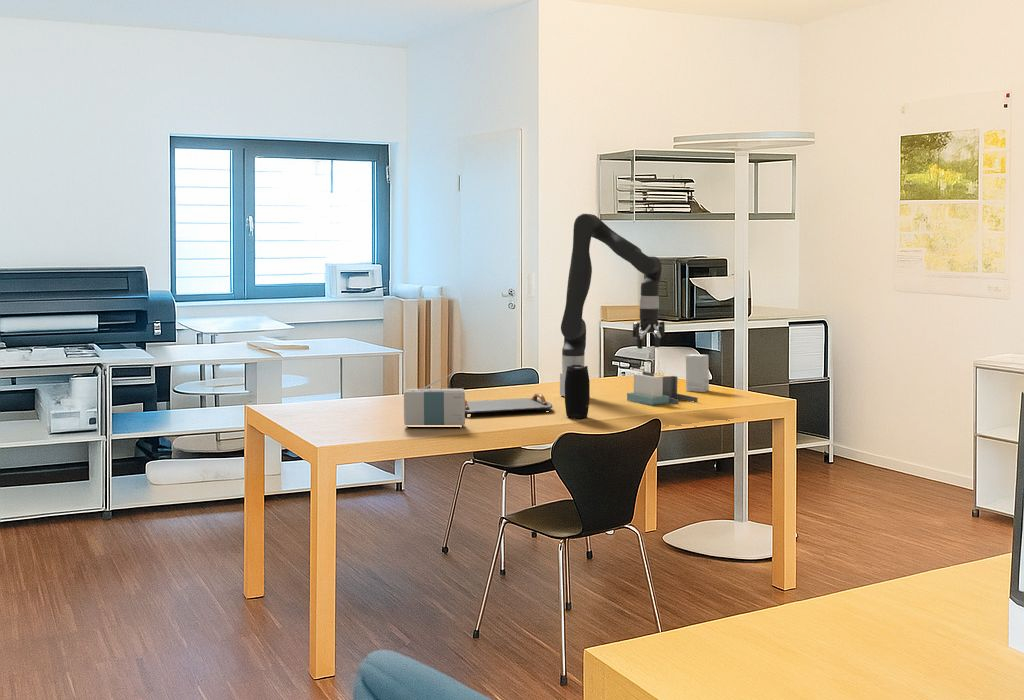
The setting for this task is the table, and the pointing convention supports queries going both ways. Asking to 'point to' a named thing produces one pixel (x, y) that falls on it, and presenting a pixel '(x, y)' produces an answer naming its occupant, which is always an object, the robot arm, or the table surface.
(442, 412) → the stereo radio cassette player
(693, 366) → the skincare box
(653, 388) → the light grey block
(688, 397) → the bay
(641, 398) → the tray
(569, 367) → the portable speaker
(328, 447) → the table surface
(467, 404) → the serving board
